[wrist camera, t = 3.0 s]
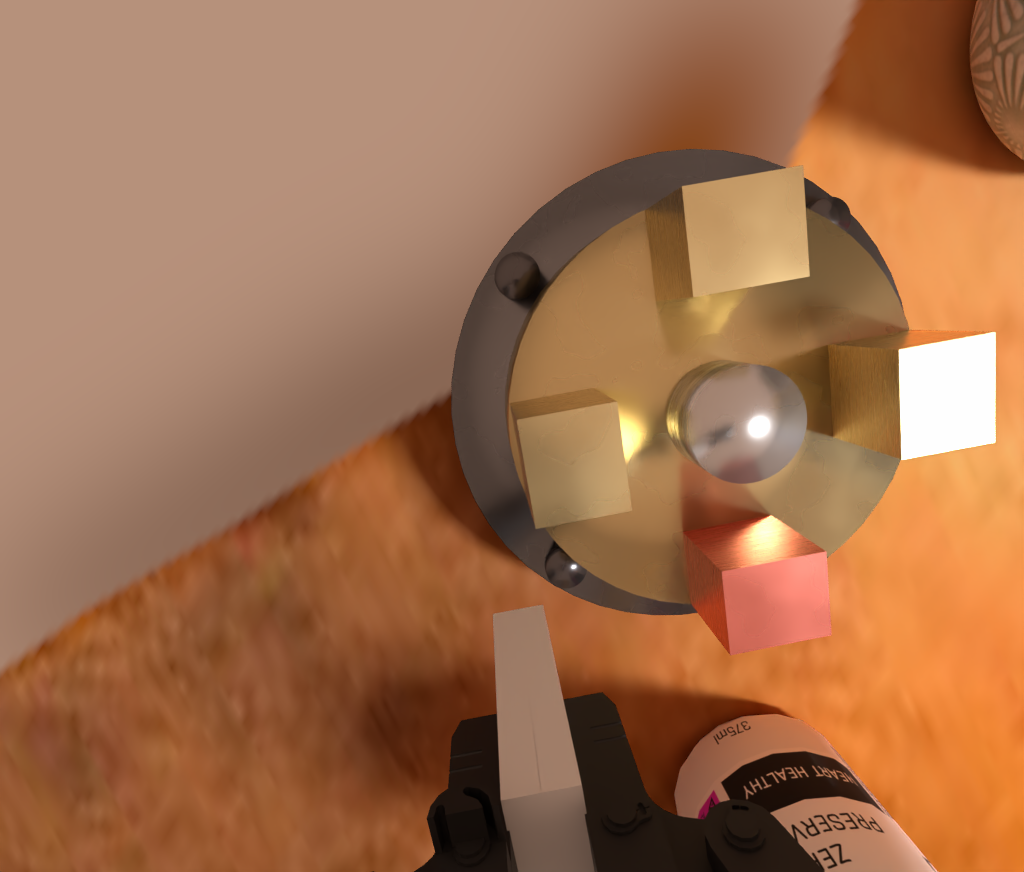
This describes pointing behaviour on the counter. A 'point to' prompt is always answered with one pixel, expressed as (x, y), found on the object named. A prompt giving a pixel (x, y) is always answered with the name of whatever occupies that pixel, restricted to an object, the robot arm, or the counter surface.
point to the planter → (1000, 68)
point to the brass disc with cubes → (743, 338)
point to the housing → (694, 402)
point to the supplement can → (797, 793)
